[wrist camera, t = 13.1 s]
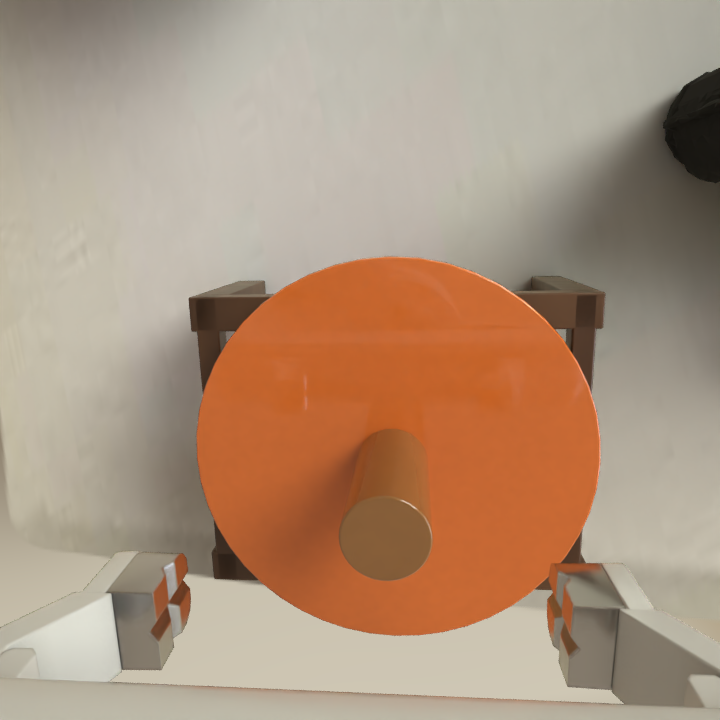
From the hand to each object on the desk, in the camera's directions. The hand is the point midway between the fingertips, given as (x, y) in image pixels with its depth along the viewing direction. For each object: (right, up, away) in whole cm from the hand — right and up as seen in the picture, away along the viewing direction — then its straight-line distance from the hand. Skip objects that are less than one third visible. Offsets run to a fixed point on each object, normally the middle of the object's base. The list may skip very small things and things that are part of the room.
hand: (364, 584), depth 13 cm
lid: (+1, +2, +7) cm, 8 cm away
